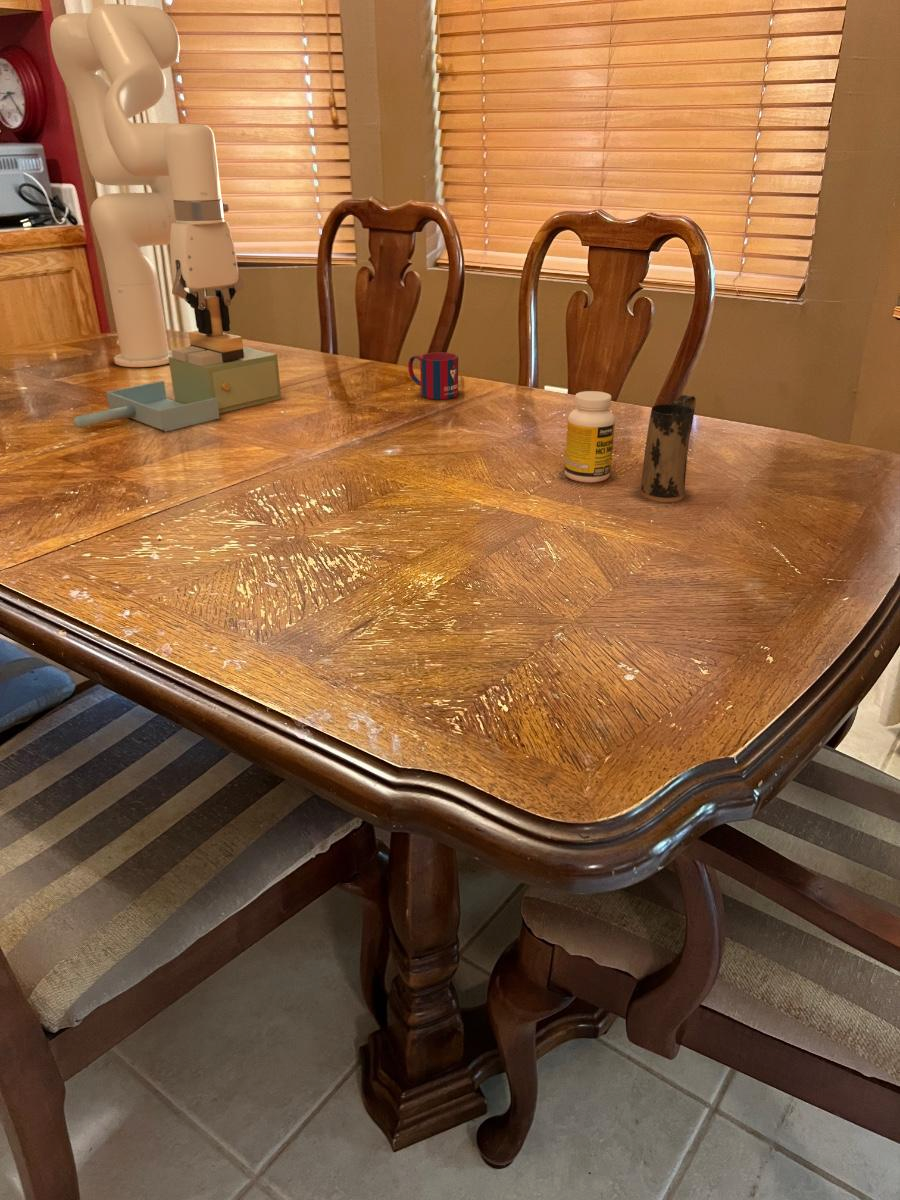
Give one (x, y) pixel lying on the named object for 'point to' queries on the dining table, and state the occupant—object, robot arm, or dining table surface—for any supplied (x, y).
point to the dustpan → (151, 409)
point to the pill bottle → (590, 438)
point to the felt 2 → (205, 358)
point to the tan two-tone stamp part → (217, 335)
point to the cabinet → (228, 381)
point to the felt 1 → (184, 352)
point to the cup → (437, 375)
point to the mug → (667, 450)
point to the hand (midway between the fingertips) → (214, 330)
